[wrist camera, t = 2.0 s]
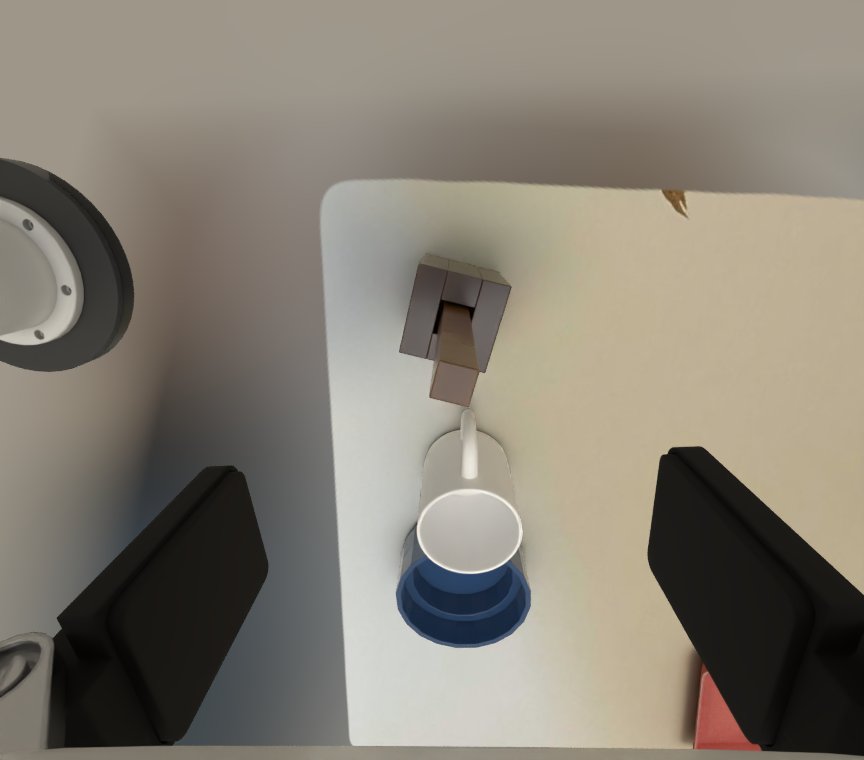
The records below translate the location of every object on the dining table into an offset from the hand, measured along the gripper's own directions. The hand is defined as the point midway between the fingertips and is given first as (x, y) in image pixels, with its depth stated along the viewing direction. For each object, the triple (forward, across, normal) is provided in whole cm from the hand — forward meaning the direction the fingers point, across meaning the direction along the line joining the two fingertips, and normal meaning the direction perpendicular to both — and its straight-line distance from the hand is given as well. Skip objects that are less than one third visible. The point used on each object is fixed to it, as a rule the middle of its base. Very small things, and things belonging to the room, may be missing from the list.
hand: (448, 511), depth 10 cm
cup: (+29, 0, +15) cm, 33 cm away
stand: (+29, 0, 0) cm, 29 cm away
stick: (+29, 0, 0) cm, 29 cm away
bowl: (+29, +1, +29) cm, 41 cm away
